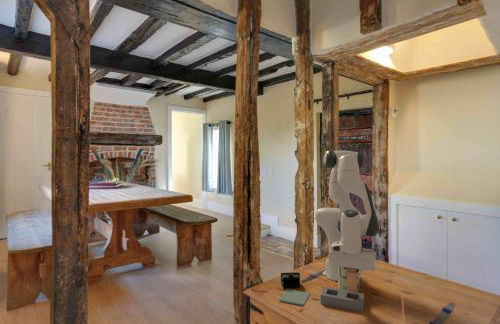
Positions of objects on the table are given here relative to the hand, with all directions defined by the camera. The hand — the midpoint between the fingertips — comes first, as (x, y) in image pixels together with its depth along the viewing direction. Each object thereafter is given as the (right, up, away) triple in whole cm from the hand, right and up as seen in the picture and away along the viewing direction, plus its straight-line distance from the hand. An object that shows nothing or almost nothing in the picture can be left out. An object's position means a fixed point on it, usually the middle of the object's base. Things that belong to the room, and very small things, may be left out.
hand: (351, 276), depth 131 cm
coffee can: (+4, -13, +15) cm, 20 cm away
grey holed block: (-4, -14, +2) cm, 14 cm away
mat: (-24, -14, +10) cm, 30 cm away
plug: (0, -6, 0) cm, 6 cm away
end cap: (-25, -14, +23) cm, 37 cm away
